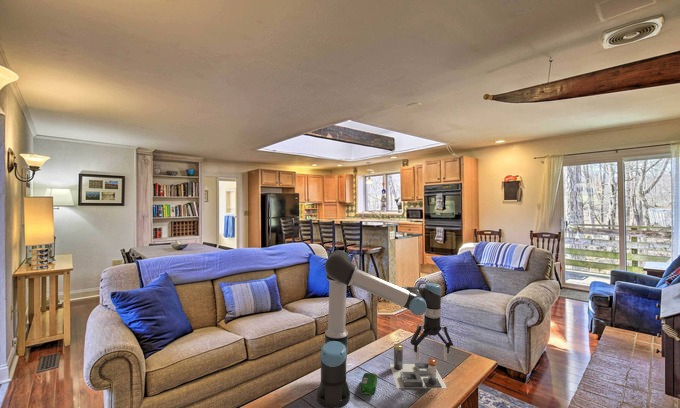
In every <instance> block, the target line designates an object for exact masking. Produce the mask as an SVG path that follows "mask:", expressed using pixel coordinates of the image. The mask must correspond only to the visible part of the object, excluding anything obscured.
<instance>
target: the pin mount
mask: <svg viewBox="0 0 680 408" xmlns="http://www.w3.org/2000/svg"><path fill="white" fill-rule="evenodd" d="M400 377H401V380H402V383H403V386H404V387H406V388H405V389H424V388H423V381H422V379H421V377H420V375H419V373H418V372H400ZM407 379H415V380H407Z"/></svg>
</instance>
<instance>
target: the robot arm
mask: <svg viewBox="0 0 680 408" xmlns="http://www.w3.org/2000/svg"><path fill="white" fill-rule="evenodd" d="M324 270H325V273H326V280H327V281H328V283H329V287H328V289H329V290H328V315H327V316H328V322H327V323H328V325H327V329H326V330H325V331H324V344H323V345H322V346H321V348H320V382H319V385H318V388H317V391H316V401H317V402H318V404H319V405H321V406H322V407H325V408H342V407H344V406H346V405H347V404H348V403H349V402H350V400H351V391H350V388H349V384H348V381H347V356H348V350H349V332H348V330H347V328H346V316H347V313H346V312H347V310H346V309H347V286H348V287H349V286H353V287H356V288H359V289H361V290H363V291H364V292H365V291H366V292H367V293H369V294H373V295H375V296H377V297H379V298H381V299H384V300H386V301H387V302H388V301H389V302H391V303H393V304H395V305H398V306H400V307H403V308H405V309H407V310H410V312H411V313H412V314H413V315H414V316H423V315H424V319H423V320H424V321H423V322H424V323H423V325H421V324H417V328H416V330H415V332H414V334H413V335H412V338H411V340H410V344H411V345H412V346H413V351H414V353H415V358H416V360H417V361H419V360H420V359H419V358H420V343H421V342H423V340H424V339H425V338H427V337H428V336H430V337H431V336H433V337H435V336H437V337H439V338H440V340H442V343H444V344H443V359H444V361H445V362H446V361H447V360H448V354H450V353H449V352H450V348H451V347H453V346H454V343H453V341H452V339H451V337H450V335H449V332H448V328H447V326H446V325H445V324H443V325H441V309H442V308H441V306H442V305H441V304H442V303H441V302H442V287H441V285H440V284H438V283H435V282H427V283H425V286H424V287H417V286H416V287H415V286H402V287H401V286H399V285H396V284H393V283H391V282H388V281H387V280H384V279H382V278H379V277H377V276H375V275H374V274H370V273H368V272H366V271H364V270H361V269H359V268H358V267H357V265H355V264H353V263H352V260H351V257H350V255H349V254H348V253H347V252H345V251H344V250H335V251H332V252H331V253H330V254H329V255H328V258H327V259H326V261H325V263H324ZM440 331H442V332H443V334H444V335H445V337H446V339H447V340H445V338H444V337H443V336H442V334H441V333H440ZM420 333H421V334H420Z"/></svg>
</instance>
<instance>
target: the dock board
mask: <svg viewBox="0 0 680 408" xmlns="http://www.w3.org/2000/svg"><path fill="white" fill-rule="evenodd" d="M389 366H390V370H391V374H392V376H393V380H394V383H395V387H396V389H407V388H406V387H404V386H403V383H402V380H401V377H400V372H417V371H416V369H415V363H403V369H402V370H396V369H394V363H389ZM419 370H428V368H419ZM420 377H421V379H422V381H423V388H422V389H428V388H427V387H426V384H425V382H424V380H423V378H428V375H420ZM436 378H437V379H438V381H439V383H440V384H441V386H442V388H441V389H448V387H447V385H446V384H445V382H444V380H443V378H442V376H441V375H440V373H439V371H438V369H437V368H436ZM407 380H415V379H407Z"/></svg>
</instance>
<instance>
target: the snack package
mask: <svg viewBox="0 0 680 408" xmlns="http://www.w3.org/2000/svg"><path fill="white" fill-rule="evenodd" d="M377 384H378V375H377V374H376V373H374V372H365V373H364V374H363V375H362V379H361V383H360V392H361V394H362V395H368V396H369V395H371V396H374V395H375V393H376V391H377Z"/></svg>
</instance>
